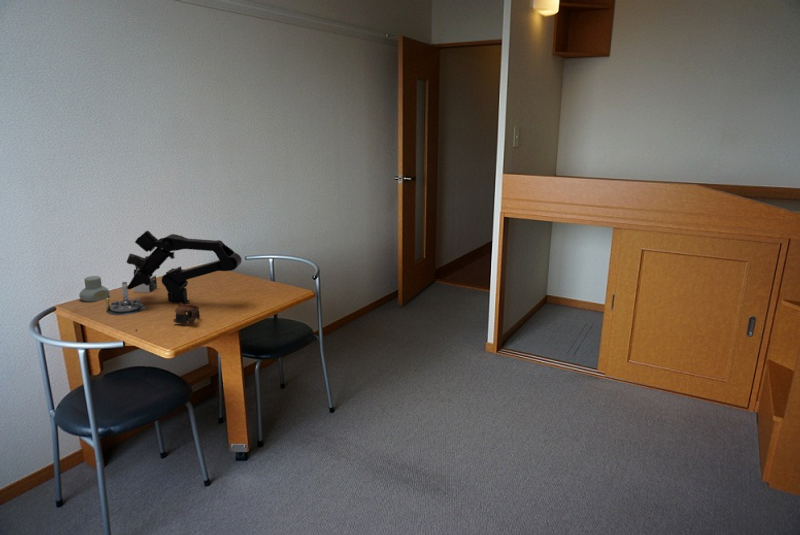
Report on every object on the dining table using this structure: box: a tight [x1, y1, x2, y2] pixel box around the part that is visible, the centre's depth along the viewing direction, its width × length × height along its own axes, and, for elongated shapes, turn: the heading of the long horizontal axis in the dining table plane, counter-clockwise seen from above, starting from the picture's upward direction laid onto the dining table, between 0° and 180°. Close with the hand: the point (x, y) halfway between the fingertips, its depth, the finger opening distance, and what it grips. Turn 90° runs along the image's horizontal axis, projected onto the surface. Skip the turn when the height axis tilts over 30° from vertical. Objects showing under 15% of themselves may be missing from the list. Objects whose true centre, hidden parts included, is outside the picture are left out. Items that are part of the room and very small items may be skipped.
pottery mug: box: [173, 303, 201, 327], centre depth 208 cm, size 12×10×8 cm
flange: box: [104, 297, 147, 316], centre depth 217 cm, size 14×14×6 cm
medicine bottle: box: [132, 267, 158, 293], centre depth 241 cm, size 7×7×12 cm
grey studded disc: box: [110, 281, 143, 313], centre depth 218 cm, size 14×11×8 cm
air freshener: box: [79, 275, 110, 303], centre depth 229 cm, size 11×8×10 cm
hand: (128, 288), depth 222 cm, fingers closed
